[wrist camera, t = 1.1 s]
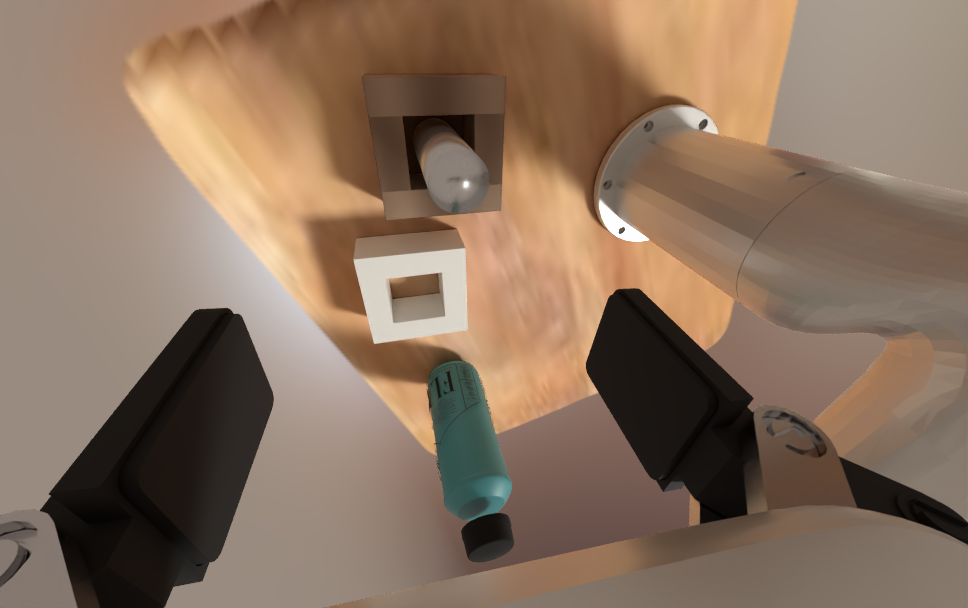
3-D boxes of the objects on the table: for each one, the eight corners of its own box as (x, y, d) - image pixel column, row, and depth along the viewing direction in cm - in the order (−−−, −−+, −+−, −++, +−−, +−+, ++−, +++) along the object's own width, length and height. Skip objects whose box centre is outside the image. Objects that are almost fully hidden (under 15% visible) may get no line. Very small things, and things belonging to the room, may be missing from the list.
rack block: (457, 229, 32) (465, 248, 29) (460, 306, 37) (467, 330, 34) (356, 238, 30) (353, 259, 27) (374, 318, 36) (374, 343, 32)
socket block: (490, 74, 25) (505, 76, 22) (488, 194, 31) (501, 210, 28) (364, 74, 24) (362, 77, 21) (385, 202, 29) (386, 220, 26)
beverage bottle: (446, 342, 40) (487, 530, 24) (487, 362, 43) (547, 537, 28) (413, 377, 42) (432, 572, 26) (455, 393, 45) (494, 573, 30)
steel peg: (454, 117, 27) (489, 147, 18) (456, 163, 29) (489, 211, 20) (410, 118, 26) (424, 151, 17) (415, 165, 28) (430, 215, 19)
